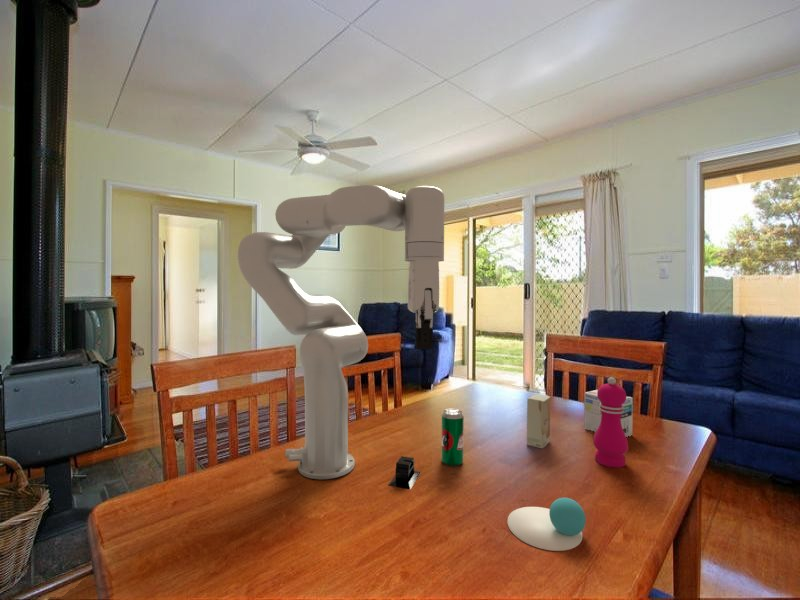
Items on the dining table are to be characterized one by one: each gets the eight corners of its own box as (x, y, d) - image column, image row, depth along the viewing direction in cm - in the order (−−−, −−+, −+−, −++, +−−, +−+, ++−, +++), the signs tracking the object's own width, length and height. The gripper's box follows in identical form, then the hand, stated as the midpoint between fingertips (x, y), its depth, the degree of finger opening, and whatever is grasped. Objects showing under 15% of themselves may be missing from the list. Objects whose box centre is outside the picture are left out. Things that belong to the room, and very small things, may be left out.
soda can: (462, 468, 90) (463, 415, 89) (440, 466, 91) (440, 414, 90) (463, 458, 95) (464, 408, 94) (442, 456, 96) (442, 407, 95)
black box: (412, 499, 78) (412, 476, 78) (377, 492, 80) (377, 470, 80) (428, 471, 90) (428, 451, 89) (397, 466, 92) (398, 446, 92)
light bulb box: (633, 435, 109) (634, 397, 109) (620, 441, 106) (621, 401, 105) (595, 424, 118) (596, 388, 118) (582, 429, 115) (583, 392, 114)
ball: (597, 518, 63) (582, 549, 63) (582, 500, 69) (568, 528, 69) (565, 502, 63) (550, 533, 64) (553, 485, 69) (539, 514, 69)
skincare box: (542, 449, 100) (543, 401, 100) (525, 445, 103) (526, 398, 102) (550, 441, 105) (551, 395, 105) (534, 437, 108) (534, 393, 107)
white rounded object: (524, 553, 61) (524, 551, 61) (497, 509, 73) (497, 508, 73) (597, 548, 62) (597, 547, 62) (560, 506, 74) (560, 505, 74)
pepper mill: (631, 461, 93) (633, 377, 93) (623, 472, 88) (625, 382, 87) (598, 452, 98) (600, 372, 97) (588, 462, 93) (590, 377, 92)
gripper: (401, 256, 83) (401, 343, 84) (409, 249, 68) (409, 355, 69) (436, 256, 84) (436, 342, 85) (452, 250, 69) (451, 355, 70)
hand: (423, 348), depth 77 cm, fingers closed
